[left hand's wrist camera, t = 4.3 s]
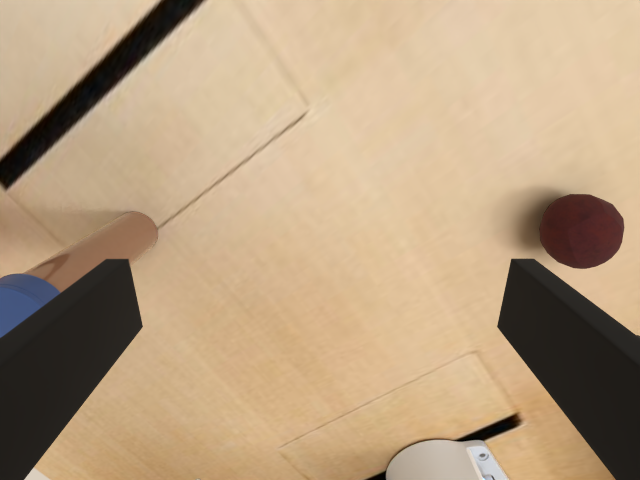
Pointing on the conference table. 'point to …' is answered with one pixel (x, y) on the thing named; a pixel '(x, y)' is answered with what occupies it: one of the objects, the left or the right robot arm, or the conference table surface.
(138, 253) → the jar
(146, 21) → the conference table surface
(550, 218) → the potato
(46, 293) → the lid
